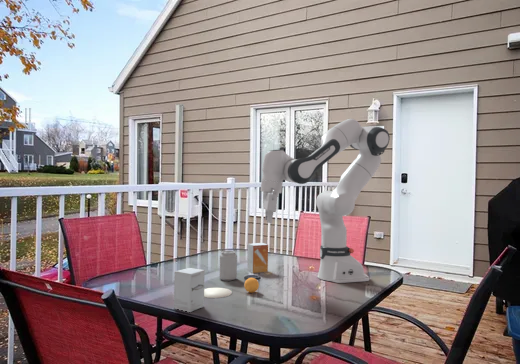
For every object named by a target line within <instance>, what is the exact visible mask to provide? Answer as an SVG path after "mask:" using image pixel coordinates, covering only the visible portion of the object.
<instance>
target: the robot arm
mask: <svg viewBox="0 0 520 364" xmlns="http://www.w3.org/2000/svg"><path fill="white" fill-rule="evenodd" d="M390 138H391V137H390V133H389V131H388V130H387V129H385V128H383V127H380V126H372V125H371V126H370V125H369V126H362V124H360V122H359V121H358V120H356V119H354V118H348V119H344V120H343V121H340V122H339V123H337V124H335V125H334V126H333V127H331V128H329V129H328V130H326V132H325V133H324V134H323V135H322V136H321V137H320V147H318V148H317V149H316V150H314V151H313V152H312V153H311V154H309V155H308V156H306V157H301V158H297V159H295V158H294V157H291V156H290V155H288V153H286V152H285V151H284V149H271V150H267V151H266V152H265V154H264V157H263V162H262V177H261V183H260V192H263V193H262V200H263V201H262V204H263V205H262V207H263V209H264V214H265V217H264V219H265V221H266V222H267V223H268V224H271V223H273V218H274V217H273V216H274V213H277V208H278V207H277V206H278V198H279V194H282V193H283V181H286V182H289V183H295V184H296V183H297V184H299V185H303V184H307V183H309V182H310V181H311V180H312V179H313V178H314V176H315V174H316V173H317V171H318V170H319V169H320V168H321V167H322V166H324V165H325V164H327V162H329V161H330V160H332V158H333V157H334V156H337V155H338V154H340V153H341V152H343V151H344V150H346V149H347V148H349V147H350V148H352V149H354V150H357V151H358V150H359V151H358V154H357V155H356V158H355V159H353V161H352V162H351V163H350V165H349V166H348V167H347V168H346V169H345V170H344V171H343V173H342V174H341V175H340V178H339V181H338V184H337V185H336V186H335V188H334V189H333V190H330V189H329V190H324V191H322V192H320V193H319V194H318V195H317V197H316V200H315V205H316V207H317V210H318V215H319V220H320V227H321V228H320V229H321V235H320V236H321V245H320V248H319V257H320V261H319V264H320V265H319V269H318V273H317V278H318V279H320V280H324V281H326V282H327V281H328V282H333V283H336V284H337V283H338V284H345V283H346V284H347V283H359V282H369V281H370V277H369V276H368V275H367V274H366V273H365V270H364V266H363V264H362V263H361V262H360V261H358V260H357V259H356V258H355V257H354V256H353V255H351V254H354V248H351V247H348V246H347V239H348V238H347V237H348V235H347V230H348V229H347V226H346V225H345V222H344V219H343V217H345V216H348V215H350V214H351V213H353V211H354V210H355V206H356V201H357V199H358V197H359V196H360V193H361V191H362V190H363V189H364V188H365V186H366V185H367V184H368V183H369V181H370V180H371V179H372V178H373V177H374V175H375V174H376V172H377V171H378V169H379V167H380V165H381V163H382V158H381V155H383V154H384V153H385V150H386V149H387V148H388V146H389V144H390Z"/></svg>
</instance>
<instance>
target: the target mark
mask: <svg viewBox="0 0 520 364" xmlns="http://www.w3.org/2000/svg"><path fill="white" fill-rule="evenodd" d="M232 294H233V292H232V290H231V289H229V288H225V287H208V288H204V298H206V299H207V298H208V299H220V298H226V297H228V296H231V295H232Z"/></svg>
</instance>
